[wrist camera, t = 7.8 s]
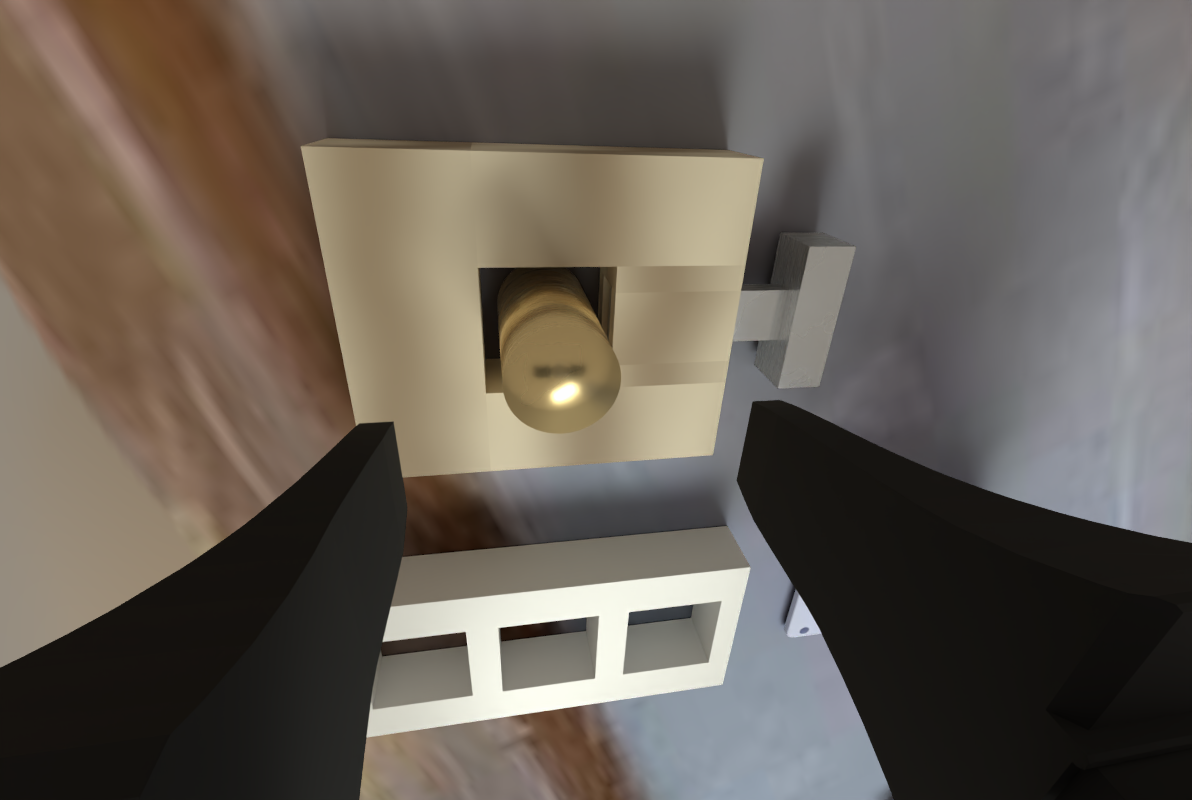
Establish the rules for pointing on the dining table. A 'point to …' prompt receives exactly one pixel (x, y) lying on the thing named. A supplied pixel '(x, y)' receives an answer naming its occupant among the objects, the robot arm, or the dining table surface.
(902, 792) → the robot arm
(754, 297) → the white t-shaped block
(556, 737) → the dining table surface
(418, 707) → the rack
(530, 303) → the brass cylinder
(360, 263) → the socket block
